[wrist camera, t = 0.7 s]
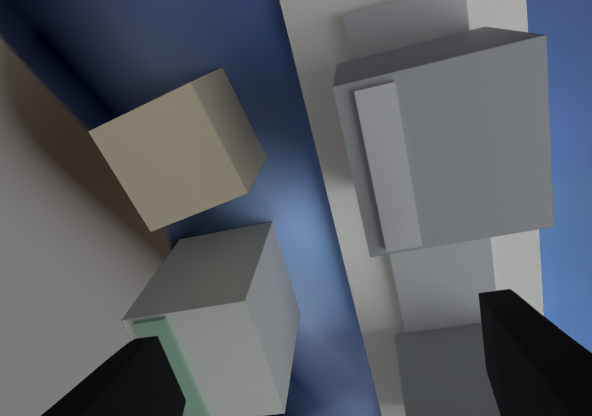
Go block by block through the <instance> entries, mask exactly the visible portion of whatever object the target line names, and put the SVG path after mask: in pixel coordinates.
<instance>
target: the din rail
mask: <svg viewBox="0 0 592 416" xmlns="http://www.w3.org/2000/svg"><path fill="white" fill-rule="evenodd" d="M280 4H281V8H282V12H283V16H284V21H285V25H286V29H287V33H288V37H289V41H290V45H291V49H292V53H293V57H294V61H295V65H296V69H297V73H298V77H299V82H300V86H301V90H302V94H303V98H304V102H305V106H306V110H307V114H308V118H309V122H310V126H311V130H312V134H313V139H314V143H315V147H316V151H317V155H318V159H319V163H320V167H321V171H322V175H323V179H324V183H325V187H326V191H327V195H328V200H329V204H330V208H331V212H332V216H333V220H334V224H335V228H336V232H337V236H338V240H339V244H340V248H341V252H342V257H343V261H344V265H345V269H346V273H347V277H348V281H349V285H350V289H351V293H352V297H353V301H354V305H355V309H356V313H357V318H358V322H359V326H360V330H361V334H362V338H363V342H364V346H365V350H366V354H367V358H368V362H369V366H370V370H371V374H372V379H373V383H374V387H375V391H376V395H377V399H378V403H379V407H380V411H381V415H382V416H501V415H500V412H499V409H498V406H497V403H496V400H495V397H494V394H493V391H492V387H491V384H490V381H489V378H488V375H487V371H486V364H485V354H484V344H483V334H482V324H481V314H480V304H479V294H478V293H483V292H490V291H498V290H506V289H511V290H512V291H514V292H515V293H516V294H518V295H519V296H520V297H521V298H522V299H524V300H525V301H526V302H527V303H528V304H530V305H531V306H532V307H533V308H535V309H536V310H537V311H538V312H539V313H541V314H542V315H543V316H544V313H543V295H542V277H541V259H540V241H539V229H544V228H550V227H554V214H553V189H552V165H551V141H550V116H549V92H548V68H547V43H546V35H543V34H536V33H529V32H528V25H527V7H526V0H280Z"/></svg>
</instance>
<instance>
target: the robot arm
mask: <svg viewBox="0 0 592 416" xmlns="http://www.w3.org/2000/svg"><path fill="white" fill-rule="evenodd" d="M478 294H479V304H480V314H481V324H482V334H483V344H484V354H485V364H486V371H487V375H488V378H489V381H490V384H491V387H492V391H493V394H494V397H495V400H496V403H497V406H498V409H499V412H500V415H501V416H592V353H591V352H590V351H588V350H587V349H586V348H584V347H583V346H582V345H580V344H579V343H577V342H576V341H575V340H573V339H572V338H571V337H570V336H568V335H567V334H566V333H564V332H563V331H562V330H561V329H559V328H558V327H557V326H556V325H554V324H553V323H552V322H551V321H549V320H548V319H547V318H545V317H544V316H543V315H542V314H541V313H539V312H538V311H537V310H536V309H535V308H533V307H532V306H531V305H530V304H528V303H527V302H526V301H525V300H524V299H522V298H521V297H520V296H519V295H518V294H516V293H515V292H514V291H512V290H511V289H506V290H498V291H490V292H483V293H478ZM185 404H186V399H185V397H184V395H183V392H182V390H181V388H180V385H179V383H178V381H177V379H176V376H175V374H174V372H173V370H172V367H171V365H170V363H169V360H168V358H167V356H166V354H165V351H164V349H163V347H162V344H161V342H160V340H159V338H158V336H152V337H144V338H136V339H133V340H132V341H131V342H129V343H128V344H127V345H125V346H124V347H123V348H121V349H120V350H119V351H117V352H116V353H115V354H114V355H113V356H111V357H110V358H109V359H108V360H106V361H105V362H104V363H103V364H102V365H100V366H99V367H98V368H97V369H96V370H95V371H94V372H92V373H91V374H90V375H89V376H88V377H86V378H85V379H84V380H83V381H82V382H80V383H79V384H78V385H77V386H76V387H75V388H74V389H72V390H71V391H70V392H69V393H68V394H67V395H65V396H64V397H63V398H62V399H61V400H59V401H58V402H57V403H56V404H55V405H53V406H52V407H51V408H50V409H48V410H47V411H46V412H45V413H43V414H42V415H41V416H183V413H184V408H185Z"/></svg>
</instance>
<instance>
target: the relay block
mask: <svg viewBox="0 0 592 416" xmlns="http://www.w3.org/2000/svg"><path fill="white" fill-rule="evenodd" d="M89 133H90V135H91V137H92V138H93V140H94V141H95V143H96V145H97V146H98V148H99V149H100V151H101V153H102V154H103V156H104V158H105V159H106V161H107V162H108V164H109V165H110V167H111V169H112V170H113V172H114V174H115V175H116V177H117V179H118V180H119V182H120V183H121V185H122V187H123V188H124V190H125V191H126V193H127V195H128V196H129V198H130V199H131V201H132V203H133V204H134V206H135V208H136V209H137V211H138V212H139V214H140V216H141V217H142V219H143V220H144V222H145V224H146V225H147V227H148V228H149V230H150V232H152V231H154V230H157V229H159V228H162V227H164V226H167V225H169V224H172V223H174V222H177V221H179V220H182V219H185V218H187V217H190V216H192V215H195V214H197V213H200V212H202V211H205V210H207V209H210V208H212V207H215V206H217V205H220V204H222V203H225V202H227V201H230V200H232V199H235V198H238V197H240V196H243V195H245V194H248V192H249V190H250V189H251V187H252V185H253V183H254V181H255V179H256V178H257V176H258V174H259V172H260V170H261V168H262V167H263V165H264V163H265V161H266V159H267V158H266V155H265V153H264V151H263V149H262V147H261V145H260V143H259V141H258V139H257V137H256V135H255V133H254V131H253V129H252V127H251V125H250V123H249V121H248V119H247V117H246V115H245V113H244V111H243V108H242V106H241V104H240V102H239V100H238V98H237V96H236V94H235V92H234V90H233V88H232V86H231V84H230V82H229V80H228V78H227V76H226V74H225V72H224V70H223V68H220V69H218V70H215V71H213V72H211V73H209V74H207V75H205V76H202V77H200V78H198V79H196V80H194V81H192V82H189V83H187V84H185V85H183V86H181V87H179V88H177V89H175V90H173V91H171V92H169V93H167V94H165V95H163V96H161V97H159V98H156V99H154V100H152V101H150V102H148V103H146V104H144V105H142V106H140V107H138V108H136V109H134V110H132V111H130V112H128V113H126V114H124V115H121V116H119V117H117V118H115V119H113V120H111V121H109V122H107V123H105V124H103V125H101V126H99V127H97V128H95V129H93V130H91V131H89Z"/></svg>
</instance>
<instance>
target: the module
mask: <svg viewBox="0 0 592 416" xmlns="http://www.w3.org/2000/svg"><path fill="white" fill-rule="evenodd" d="M299 317H300V311H299V308H298V304H297V301H296V298H295V294H294V291H293V288H292V285H291V281H290V278H289V275H288V271H287V268H286V265H285V261H284V258H283V255H282V252H281V248H280V245H279V242H278V238H277V235H276V232H275V228H274V225H273V222H268V223H263V224H258V225H253V226H247V227H242V228H237V229H232V230H227V231H221V232H216V233H211V234H206V235H200V236H195V237H190V238H185V239H180V240H179V241H178V243H177V244H176V245H175V247H174V248H173V250H172V251H171V252H170V254H169V255H168V257H167V258H166V260H165V261H164V262H163V264H162V265H161V266H160V268H159V269H158V270H157V272H156V273H155V275H154V276H153V277H152V279H151V280H150V282H149V283H148V284H147V286H146V287H145V288H144V290H143V291H142V293H141V294H140V295H139V297H138V298H137V300H136V301H135V302H134V304H133V305H132V307H131V308H130V309H129V311H128V312H127V313H126V315H125V316H124V318H123V319H122V323H123V325H124V327H125V329H126V331H127V333H128V335H129V337H130V339H131V341H132V340H133V339H136V338H144V337H152V336H158V338H159V340H160V342H161V344H162V347H163V349H164V351H165V354H166V356H167V358H168V360H169V363H170V365H171V367H172V370H173V372H174V374H175V376H176V379H177V381H178V383H179V385H180V388H181V390H182V392H183V395H184V397H185V399H186V404H185V408H184V413H183V416H264V415H274V414H283V413H285V408H286V401H287V395H288V388H289V382H290V375H291V369H292V362H293V356H294V349H295V343H296V336H297V330H298V323H299Z"/></svg>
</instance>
